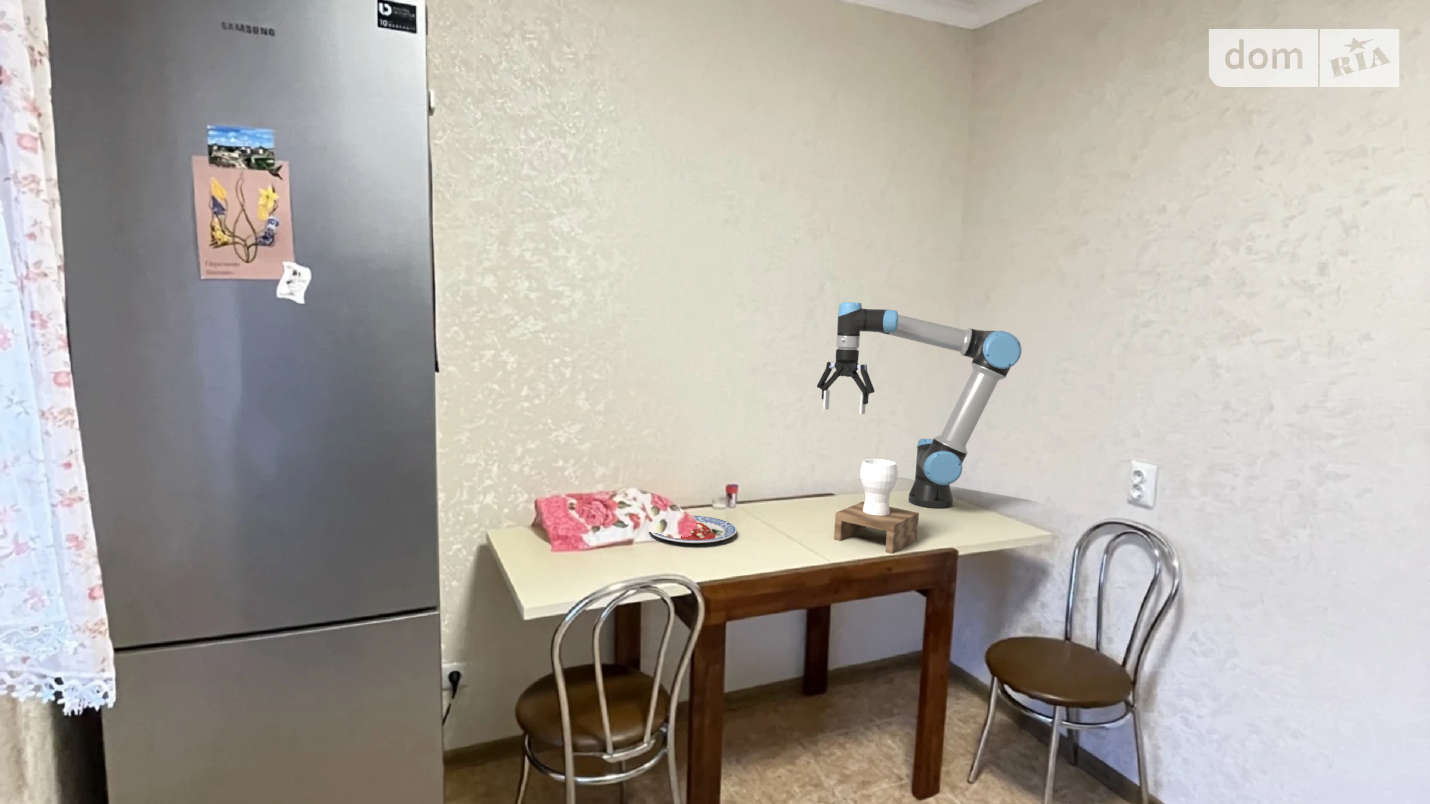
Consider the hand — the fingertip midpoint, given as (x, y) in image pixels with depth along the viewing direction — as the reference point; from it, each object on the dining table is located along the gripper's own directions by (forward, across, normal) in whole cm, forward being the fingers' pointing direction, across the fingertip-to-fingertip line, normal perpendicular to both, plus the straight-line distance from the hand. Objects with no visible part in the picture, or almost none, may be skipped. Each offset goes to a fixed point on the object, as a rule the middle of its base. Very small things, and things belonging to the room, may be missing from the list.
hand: (843, 411), depth 245 cm
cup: (+25, +26, -26) cm, 44 cm away
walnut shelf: (+33, +26, -26) cm, 49 cm away
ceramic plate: (+33, -16, -60) cm, 70 cm away
